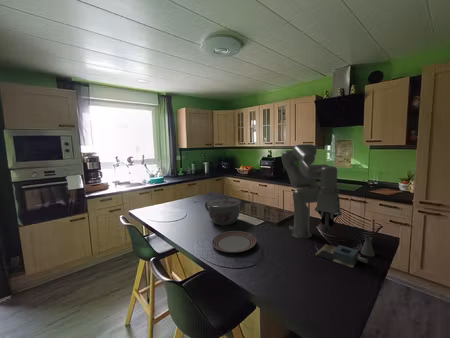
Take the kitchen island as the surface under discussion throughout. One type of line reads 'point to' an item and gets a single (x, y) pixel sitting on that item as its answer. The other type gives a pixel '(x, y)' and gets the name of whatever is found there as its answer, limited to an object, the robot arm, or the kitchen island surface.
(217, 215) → the chamber pot
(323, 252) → the rubber pad
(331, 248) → the bench board
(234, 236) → the dinner plate
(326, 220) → the key peg
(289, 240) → the kitchen island surface
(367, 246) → the flask
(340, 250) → the block
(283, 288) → the kitchen island surface
